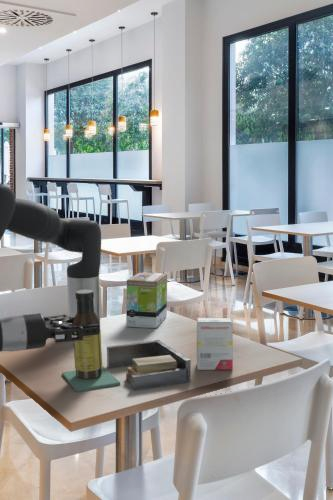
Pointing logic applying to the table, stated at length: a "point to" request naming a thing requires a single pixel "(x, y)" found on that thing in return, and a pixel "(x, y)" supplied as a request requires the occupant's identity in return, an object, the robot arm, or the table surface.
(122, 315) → the table surface
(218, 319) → the ink box
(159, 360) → the offcut stack
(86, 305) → the sauce bottle
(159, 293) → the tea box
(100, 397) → the table surface
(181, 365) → the grey three-sided tray
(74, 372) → the green rubber mat
